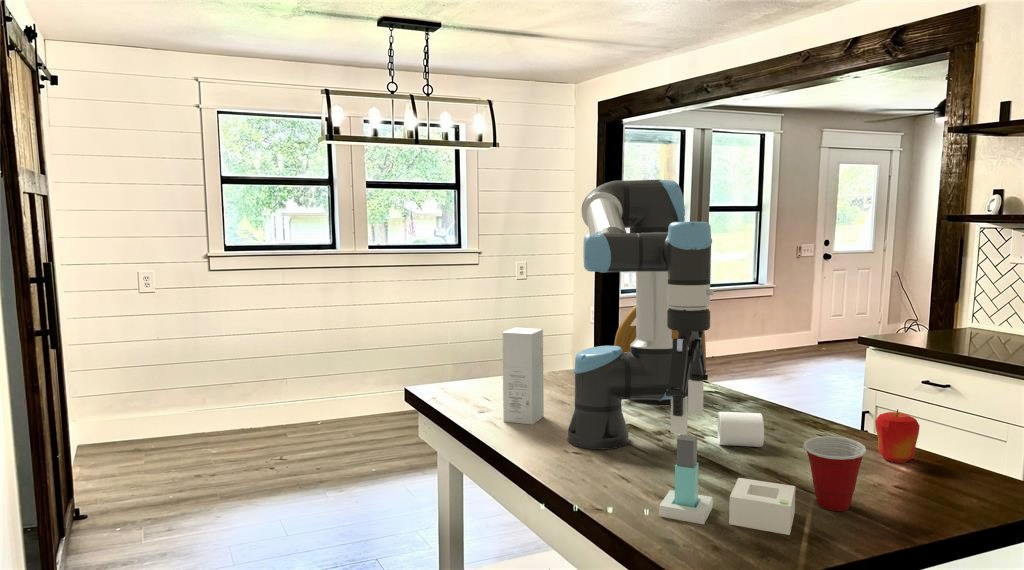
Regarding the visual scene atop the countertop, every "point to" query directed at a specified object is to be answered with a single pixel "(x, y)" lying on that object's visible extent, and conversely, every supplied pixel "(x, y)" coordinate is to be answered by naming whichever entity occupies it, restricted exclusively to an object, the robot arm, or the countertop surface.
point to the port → (762, 505)
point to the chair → (628, 335)
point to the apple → (897, 436)
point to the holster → (686, 509)
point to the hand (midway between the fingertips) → (687, 423)
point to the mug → (740, 429)
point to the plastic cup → (834, 470)
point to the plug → (686, 472)
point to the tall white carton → (523, 375)
